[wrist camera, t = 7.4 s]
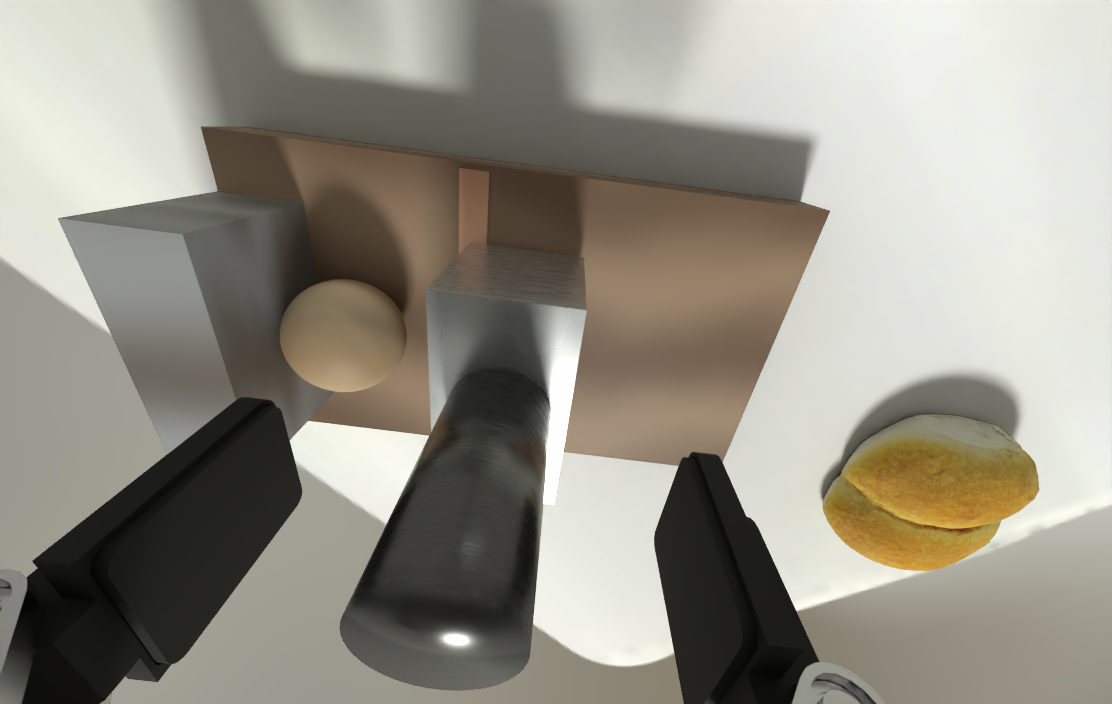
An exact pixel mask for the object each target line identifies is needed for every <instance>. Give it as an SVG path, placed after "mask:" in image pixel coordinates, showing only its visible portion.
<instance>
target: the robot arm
mask: <svg viewBox="0 0 1112 704" xmlns="http://www.w3.org/2000/svg"><path fill="white" fill-rule="evenodd" d="M301 496H302V487H301V483H300V480H299V476H298V472H297V468H296V464H295V460H294V456H293V452H292V449H291V445H290V441H289V437H288V433H287V429H286V425H285V422H284V418H283V414H282V411H281V409H280V408H278V407H276V405H275V403H274V402H273V401H272V400H267V399H259V398H251V397H241V398H239V399H237V400H236V401H234V402H233V403H232V404H231V405H229V406H228V407H227V408H225V409H224V410H223V411H222V412H220V413H219V414H218V415H217V416H215V417H214V418H213V419H212V420H210V421H209V422H208V423H206V424H205V425H204V426H203V427H201V428H200V429H199V430H198V431H196V432H195V433H194V434H193V435H191V436H190V437H189V438H187V439H186V440H185V441H184V442H182V443H181V444H180V445H179V446H177V447H176V448H175V449H174V450H172V451H171V452H170V453H168V454H167V455H166V456H165V457H164V458H162V459H161V460H160V461H158V462H157V463H156V464H155V465H153V466H152V467H151V468H149V469H148V470H147V471H146V472H144V473H143V474H142V475H141V476H139V477H138V478H137V479H136V480H134V481H133V482H132V483H130V484H129V485H128V486H127V487H125V488H124V489H123V490H122V491H120V492H119V493H118V494H117V495H115V496H114V497H113V498H111V499H110V500H109V501H108V502H106V503H105V504H104V505H103V506H101V507H100V508H99V509H98V510H96V511H95V512H94V513H92V514H91V515H90V516H89V517H87V518H86V519H85V520H84V521H82V522H81V523H80V524H78V525H77V526H76V527H75V528H74V529H72V530H71V531H70V532H68V533H67V534H66V535H65V536H63V537H62V538H61V539H60V540H58V541H57V542H56V543H54V544H53V545H52V546H51V547H49V548H48V549H47V550H46V551H44V552H43V553H42V554H41V555H39V556H38V557H37V558H35V559H34V560H33V563H34V564H35V565H36V566H37V567H38V569H36V570H35V571H34V572H33V573H32V574H30V575H29V576H28V577H27V578H26V577H25V576H24V575H23V574H22V573H21V572H19V571H15V570H10V569H1V570H0V704H111V696H112V691H113V690H114V689H115V688H116V686H117V685H118V684H119V683H120V682H121V680H122V679H123V678H124V677H125V676H126V677H127V678H128V679H134V680H144V681H153V682H158V681H159V680H160V678H161V677H162V676H163V674H164V673H165V672H166V671H167V669H168V668H169V667H170V665H171V664H174V663H176V662H178V661H179V660H180V659H182V658H183V657H184V656H185V655H186V654H187V652H188V651H189V650H190V649H191V647H192V646H193V644H194V643H195V642H196V640H197V639H198V638H199V636H200V635H201V634H202V632H203V631H204V630H205V628H206V627H207V625H208V624H209V623H210V622H211V620H212V619H213V618H214V616H215V615H216V614H217V612H218V611H219V610H220V608H221V607H222V606H223V604H224V603H225V601H226V600H227V599H228V598H229V596H230V595H231V594H232V592H233V591H234V590H235V588H236V587H237V586H238V584H239V583H240V582H241V580H242V579H243V578H244V576H245V575H246V573H247V572H248V571H249V569H250V568H251V567H252V565H253V564H254V563H255V562H256V560H257V559H258V557H259V556H260V555H261V553H262V552H263V551H264V549H265V548H266V547H267V545H268V544H269V543H270V541H271V540H272V539H273V537H274V536H275V535H276V533H277V532H278V531H279V529H280V528H281V527H282V525H283V524H284V522H285V521H286V520H287V519H288V517H289V516H290V515H291V513H292V512H293V511H294V509H295V508H296V507H297V505H298V503H299V501H300V499H301ZM654 545H655V552H656V557H657V562H658V568H659V573H660V578H661V584H662V589H663V594H664V600H665V605H666V610H667V616H668V621H669V626H670V632H671V637H672V642H673V648H674V653H675V658H676V664H677V669H678V674H679V680H680V685H681V690H682V696H683V700H684V704H885V703H884V701H883V700H882V699H881V698H880V696H879V695H878V694H877V693H876V692H875V691H874V690H873V689H872V688H871V687H870V686H869V685H868V684H866V683H865V682H864V681H863V680H862V679H861V678H860V677H858V676H856V675H855V674H853V673H852V672H850V671H848V670H847V669H845V668H843V667H840V666H837V665H834V664H832V663H827V662H826V663H825V662H819V660H818V658H817V656H816V654H815V651H814V649H813V647H812V645H811V643H810V640H809V638H808V636H807V634H806V632H805V629H804V627H803V625H802V623H801V621H800V619H799V616H798V614H797V612H796V610H795V608H794V605H793V603H792V601H791V599H790V597H789V594H788V592H787V590H786V588H785V586H784V583H783V581H782V579H781V577H780V575H779V573H778V570H777V568H776V566H775V564H774V562H773V559H772V557H771V555H770V553H769V551H768V549H767V546H766V544H765V542H764V540H763V538H762V535H761V533H760V531H759V529H758V527H757V525H756V524H755V522H754V521H753V520H752V519H751V518H749V517H746V515H745V513H744V511H743V508H742V506H741V504H740V501H739V499H738V497H737V495H736V492H735V490H734V488H733V486H732V483H731V481H730V479H729V476H728V474H727V472H726V470H725V467H724V465H723V463H722V461H721V459H720V457H719V456H718V455H716V454H708V453H699V452H692V453H691V454H690V455H689V457H683V458H682V459H681V461H680V464H679V467H678V470H677V472H676V475H675V478H674V481H673V484H672V486H671V489H670V492H669V495H668V497H667V500H666V503H665V506H664V508H663V511H662V514H661V517H660V520H659V522H658V525H657V528H656V531H655V536H654Z"/></svg>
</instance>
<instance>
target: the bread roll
mask: <svg viewBox="0 0 1112 704" xmlns="http://www.w3.org/2000/svg"><path fill="white" fill-rule="evenodd" d="M1038 491H1039V482H1038V474H1037V470H1036V465H1035V462H1034V461H1033V460H1032V458H1031V457H1030V456H1029V455H1028V454H1027V453H1026V452H1025V451H1024V450H1022V448H1021V446H1020V445H1019V444H1018V443H1017V442H1016V441H1015V440H1014V439H1013V438H1011V437H1010V436H1009V435H1008V434H1007V433H1006V432H1004V431H1003V430H1002V429H1001V428H1000V427H998V426H995V425H993V424H990V423H986V422H982V421H977V420H972V419H969V418H965V417H961V416H955V415H938V414H924V415H916V416H913V417H909V418H906V419H903V420H901V421H898V422H896V423H894V424H893V425H891V426H889V427H887V428H885V429H883V430H881V431H880V432H878V433H876V434H874V435H873V436H871V437H869V438H868V439H866V440H865V441H864V442H863V443H862V444H860V445H859V446H858V448H857V449H856V450H855V451H854V453H853V454H852V455H851V456H850V458H849V459H848V461H847V463H846V465H845V466H844V467H843V469H842V473H841V475H840V476H839V477H837V478H836V479H835V480H834V481H833V482H832V484H831V485H830V487H829V489H828V491H827V493H826V495H825V498H824V501H823V511H824V514H825V516H826V518H827V520H828V522H829V524H830V525H831V527H832V528H833V530H834V531H835V533H836V534H837V535H838V536H839V537H840V538H841V540H842V541H843V542H844V543H846V544H847V545H848V546H849V547H851V548H852V549H854V550H855V551H857V552H858V553H860V554H861V555H863V556H865V557H867V558H869V559H871V560H873V561H875V562H878V563H880V564H883V565H886V566H890V567H893V568H897V569H903V570H914V571H929V570H935V569H940V568H944V567H946V566H949V565H951V564H953V563H956V562H958V561H960V560H962V559H963V558H965V557H967V556H969V555H970V554H972V553H974V552H975V551H977V550H978V549H980V548H982V547H983V546H985V545H987V544H988V543H989V542H990V540H991V539H992V538H993V537H994V535H995V534H996V532H997V530H998V528H999V526H1000V522H1001V520H1002V519H1005V518H1007V517H1009V516H1011V515H1013V514H1015V513H1017V512H1019V511H1020V510H1021V509H1023V508H1024V507H1025V506H1026V505H1027V504H1029V503H1030V502H1031V501H1032V500H1034V498H1035V496H1036V495H1037V493H1038Z"/></svg>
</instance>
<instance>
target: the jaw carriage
mask: <svg viewBox="0 0 1112 704" xmlns="http://www.w3.org/2000/svg"><path fill="white" fill-rule="evenodd" d="M426 312H427V338H428V363H429V389H430V415H431V434H430V436H429V438H428V440H427V442H426V444H425V446H424V448H423V450H422V452H421V454H420V456H419V458H418V461H417V463H416V465H415V467H414V469H413V471H412V473H411V475H410V477H409V479H408V481H407V483H406V485H405V487H404V490H403V492H402V494H401V496H400V498H399V500H398V502H397V504H396V506H395V508H394V510H393V512H392V514H391V516H390V518H389V521H388V523H387V525H386V527H385V529H384V531H383V533H382V535H381V537H380V539H379V541H378V543H377V545H376V548H375V550H374V552H373V554H372V556H371V558H370V560H369V562H368V564H367V566H366V568H365V570H364V572H363V575H362V577H361V578H360V581H359V583H358V585H357V587H356V589H355V591H354V593H353V595H352V597H351V599H350V601H349V603H348V606H347V607H346V610H345V612H344V614H343V616H342V618H341V621H340V632H341V637H342V639H343V641H344V643H345V645H346V646H347V648H348V649H349V650H350V651H351V653H352V654H353V655H355V656H356V657H357V658H358V659H359V660H360V661H361V662H363V663H364V664H366V665H367V666H369V667H370V668H372V669H374V670H375V671H377V672H379V673H381V674H383V675H386V676H388V677H390V678H393V679H395V680H399V681H401V682H404V683H408V684H412V685H416V686H420V687H426V688H433V689H441V690H474V689H481V688H486V687H491V686H494V685H498V684H501V683H503V682H505V681H508V680H509V679H511V678H513V677H515V676H516V675H517V674H518V673H520V672H521V671H522V670H523V669H524V667H525V666H526V664H527V663H528V660H529V657H530V647H531V637H532V626H533V615H534V604H535V592H536V581H537V570H538V559H539V548H540V536H541V525H542V514H543V503H544V504H552V505H554V502H555V496H556V490H557V484H558V478H559V472H560V467H561V461H562V455H563V449H564V443H565V437H566V431H567V425H568V419H569V413H570V407H571V401H572V395H573V389H574V384H575V378H576V372H577V366H578V360H579V354H580V348H581V342H582V336H583V330H584V324H585V318H586V312H587V304H586V287H585V269H584V257H578V256H570V255H562V254H555V253H547V252H539V251H532V250H524V249H516V248H509V247H501V246H493V245H486V244H478V243H470V244H469V245H468V246H467V247H466V248H465V249H464V250H463V251H462V252H461V253H460V254H459V255H458V256H457V257H456V258H455V259H454V260H453V261H452V262H451V264H450V265H449V266H448V267H447V268H446V269H445V270H444V271H443V272H442V273H441V274H440V275H439V276H438V277H437V278H436V279H435V280H434V281H433V282H432V283H431V285H430V286H429V287H428V288H427V289H426Z"/></svg>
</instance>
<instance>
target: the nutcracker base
mask: <svg viewBox="0 0 1112 704" xmlns="http://www.w3.org/2000/svg"><path fill="white" fill-rule="evenodd" d="M201 129H202V133H203V136H204V140H205V144H206V148H207V151H208V155H209V159H210V162H211V166H212V170H213V174H214V177H215V181H216V185H217V189H218V192H212V193H206V194H200V195H194V196H188V197H182V198H176V199H170V200H164V201H158V202H152V203H146V204H140V205H134V206H128V207H122V208H116V209H110V210H104V211H99V212H93V213H87V214H81V215H75V216H69V217H63V218H58V220H59V222H60V224H61V226H62V228H63V231H64V233H65V235H66V237H67V239H68V241H69V244H70V246H71V248H72V250H73V252H74V254H75V257H76V259H77V261H78V263H79V265H80V267H81V270H82V272H83V274H84V276H85V278H86V280H87V283H88V285H89V287H90V289H91V291H92V293H93V296H94V298H95V300H96V302H97V304H98V307H99V309H100V311H101V313H102V315H103V317H104V320H105V322H106V324H107V326H108V328H109V330H110V333H111V335H112V337H113V339H114V341H115V343H116V346H117V348H118V350H119V352H120V354H121V356H122V359H123V361H124V363H125V365H126V367H127V369H128V372H129V374H130V376H131V378H132V380H133V382H134V384H135V387H136V389H137V391H138V393H139V395H140V398H141V400H142V402H143V404H144V406H145V408H146V411H147V413H148V415H149V417H150V419H151V421H152V424H153V426H154V428H155V430H156V432H157V434H158V436H159V439H160V441H161V443H162V445H163V447H164V450H165V452H166V454H168V453H170V452H171V451H172V450H174V449H175V448H176V447H177V446H179V445H180V444H181V443H182V442H184V441H185V440H186V439H187V438H189V437H190V436H191V435H193V434H194V433H195V432H196V431H198V430H199V429H200V428H201V427H203V426H204V425H205V424H206V423H208V422H209V421H210V420H212V419H213V418H214V417H215V416H217V415H218V414H219V413H220V412H222V411H223V410H224V409H225V408H227V407H228V406H229V405H231V404H232V403H233V402H234V401H236V400H237V399H239V398H241V397H251V398H259V399H267V400H272V401H273V402H274V403H275V405H276V407H278V408H280V409H281V411H282V414H283V418H284V422H285V425H286V429H287V433H288V437H289V440H290V439H291V438H292V437H293V436H294V435H295V434H296V433H297V432H298V431H299V430H300V429H301V427H302V426H303V425H304V424H305V423H306V422H307V421H315V422H323V423H331V424H340V425H348V426H356V427H364V428H372V429H381V430H389V431H397V432H405V433H413V434H422V435H430V434H431V415H430V389H429V363H428V338H427V312H426V289H427V288H428V287H429V286H430V285H431V283H432V282H433V281H434V280H435V279H436V278H437V277H438V276H439V275H440V274H441V273H442V272H443V271H444V270H445V269H446V268H447V267H448V266H449V265H450V264H451V262H452V261H453V260H454V259H455V258H456V257H457V256H458V255H459V254H460V253H461V252H462V251H463V250H464V249H465V248H466V247H467V246H468V245H469V244H470V243H478V244H486V245H493V246H501V247H509V248H516V249H524V250H532V251H539V252H547V253H555V254H562V255H570V256H578V257H584V269H585V287H586V304H587V312H586V318H585V324H584V330H583V336H582V342H581V348H580V354H579V360H578V366H577V372H576V378H575V384H574V389H573V395H572V401H571V407H570V413H569V419H568V425H567V431H566V437H565V443H564V449H563V452H569V453H578V454H586V455H594V456H602V457H610V458H619V459H627V460H635V461H643V462H651V463H660V464H668V465H676V466H679V464H680V461H681V459H682V458H683V457H689V455H690V454H691V453H692V452H699V453H708V454H716V455H718V456H719V457H720V459H721V461H722V462H723V460H724V457H725V455H726V453H727V450H728V448H729V446H730V443H731V441H732V439H733V436H734V434H735V432H736V429H737V427H738V425H739V422H740V420H741V418H742V415H743V413H744V411H745V408H746V406H747V404H748V401H749V399H750V397H751V394H752V392H753V390H754V387H755V385H756V383H757V380H758V378H759V376H760V373H761V371H762V369H763V366H764V364H765V362H766V359H767V357H768V355H769V352H770V350H771V348H772V345H773V343H774V341H775V338H776V336H777V334H778V331H779V329H780V327H781V324H782V322H783V320H784V317H785V315H786V313H787V310H788V308H789V306H790V303H791V301H792V299H793V296H794V294H795V292H796V289H797V287H798V285H799V282H800V280H801V278H802V275H803V273H804V271H805V268H806V266H807V264H808V261H809V259H810V257H811V254H812V252H813V250H814V247H815V245H816V243H817V240H818V238H819V236H820V233H821V231H822V229H823V226H824V224H825V222H826V219H827V217H828V215H829V212H830V211H829V210H825V209H822V208H819V207H816V206H813V205H809V204H806V203H803V202H798V201H791V200H783V199H776V198H769V197H761V196H754V195H746V194H739V193H731V192H724V191H716V190H709V189H702V188H694V187H687V186H679V185H672V184H664V183H657V182H649V181H642V180H635V179H627V178H620V177H612V176H605V175H597V174H590V173H582V172H575V171H568V170H560V169H553V168H545V167H538V166H530V165H523V164H515V163H508V162H500V161H493V160H486V159H478V158H471V157H463V156H456V155H448V154H441V153H433V152H426V151H419V150H411V149H404V148H396V147H389V146H381V145H374V144H366V143H359V142H352V141H344V140H337V139H329V138H322V137H314V136H307V135H299V134H292V133H285V132H277V131H270V130H262V129H255V128H247V127H201Z"/></svg>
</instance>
